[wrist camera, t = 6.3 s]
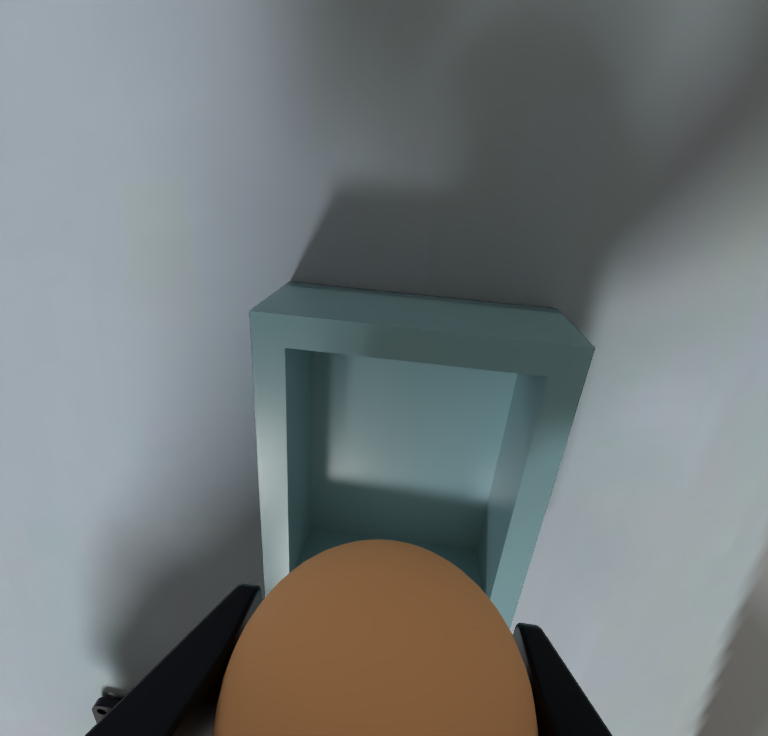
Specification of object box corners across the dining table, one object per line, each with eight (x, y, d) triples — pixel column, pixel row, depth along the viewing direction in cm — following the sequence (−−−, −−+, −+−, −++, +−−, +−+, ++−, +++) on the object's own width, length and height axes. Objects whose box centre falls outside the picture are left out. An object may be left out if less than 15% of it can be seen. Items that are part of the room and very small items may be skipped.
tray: (292, 531, 16) (265, 602, 13) (289, 281, 12) (249, 310, 10) (493, 558, 16) (507, 637, 13) (557, 308, 12) (595, 347, 9)
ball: (280, 632, 10) (162, 984, 6) (274, 467, 8) (88, 807, 4) (485, 664, 10) (530, 1059, 6) (530, 499, 8) (661, 911, 4)
